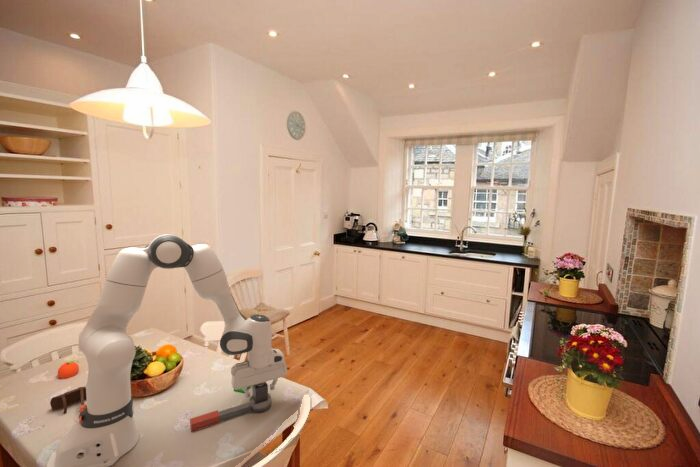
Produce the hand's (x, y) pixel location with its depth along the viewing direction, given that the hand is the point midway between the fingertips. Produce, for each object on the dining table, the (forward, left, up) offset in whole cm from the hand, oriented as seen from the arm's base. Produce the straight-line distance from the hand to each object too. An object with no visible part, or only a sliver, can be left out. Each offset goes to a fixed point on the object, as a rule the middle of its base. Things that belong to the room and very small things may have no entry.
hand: (260, 392), depth 123 cm
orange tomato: (-65, +60, -6) cm, 89 cm away
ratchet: (0, 0, -6) cm, 6 cm away
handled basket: (-58, +29, -6) cm, 65 cm away
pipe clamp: (+3, +15, -3) cm, 16 cm away
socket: (0, 0, -3) cm, 3 cm away
